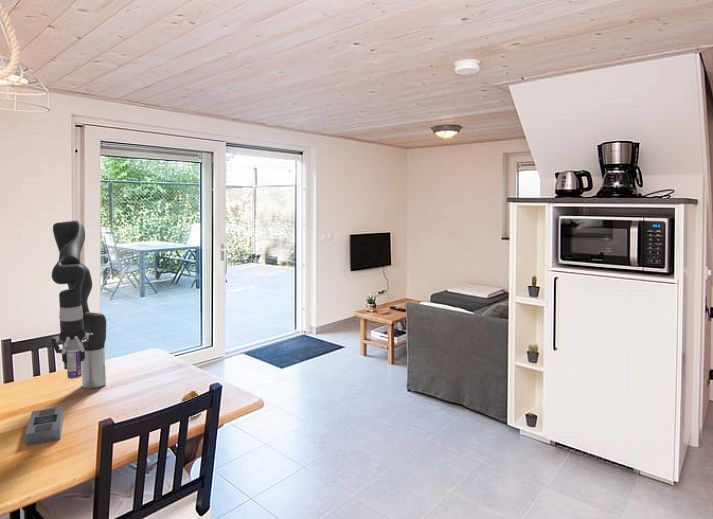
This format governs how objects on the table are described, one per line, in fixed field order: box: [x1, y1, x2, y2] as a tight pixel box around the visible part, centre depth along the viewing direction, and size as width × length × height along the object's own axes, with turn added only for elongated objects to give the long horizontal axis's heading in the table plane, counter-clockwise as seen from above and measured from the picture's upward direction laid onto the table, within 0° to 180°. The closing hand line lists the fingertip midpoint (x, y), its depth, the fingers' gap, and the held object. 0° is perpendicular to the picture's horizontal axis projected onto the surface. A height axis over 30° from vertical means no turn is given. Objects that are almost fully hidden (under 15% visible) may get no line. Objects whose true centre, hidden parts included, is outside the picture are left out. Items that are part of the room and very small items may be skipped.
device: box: [24, 406, 65, 446], centre depth 174 cm, size 10×20×4 cm, turn 28°
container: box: [66, 339, 82, 380], centre depth 181 cm, size 5×5×15 cm
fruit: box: [180, 390, 199, 403], centre depth 194 cm, size 8×8×8 cm
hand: (73, 361), depth 181 cm, fingers closed on container, 4 cm apart
